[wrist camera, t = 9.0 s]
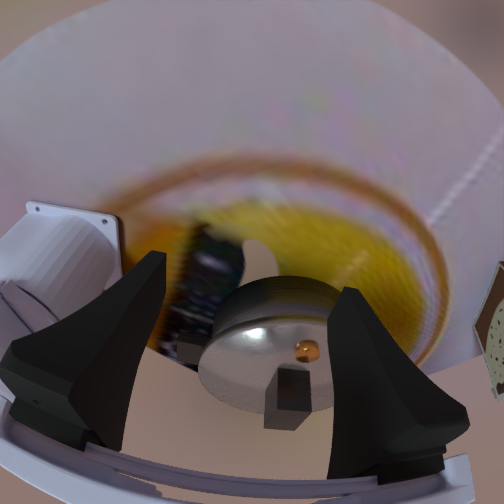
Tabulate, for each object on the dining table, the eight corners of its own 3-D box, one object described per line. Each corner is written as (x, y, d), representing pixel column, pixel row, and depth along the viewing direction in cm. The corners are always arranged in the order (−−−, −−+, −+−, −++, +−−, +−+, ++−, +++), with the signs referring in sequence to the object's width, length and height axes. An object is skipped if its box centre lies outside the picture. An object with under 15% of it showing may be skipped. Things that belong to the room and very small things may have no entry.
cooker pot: (185, 350, 31) (176, 390, 27) (192, 255, 23) (176, 302, 19) (344, 373, 32) (348, 410, 28) (400, 294, 24) (417, 337, 20)
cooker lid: (196, 394, 27) (188, 435, 23) (207, 298, 19) (194, 357, 15) (331, 410, 28) (334, 448, 24) (403, 327, 20) (419, 379, 16)
